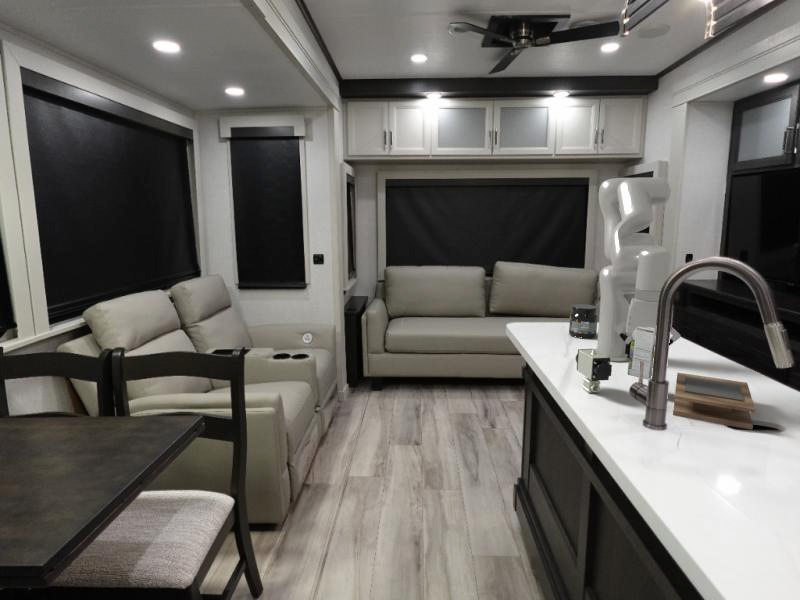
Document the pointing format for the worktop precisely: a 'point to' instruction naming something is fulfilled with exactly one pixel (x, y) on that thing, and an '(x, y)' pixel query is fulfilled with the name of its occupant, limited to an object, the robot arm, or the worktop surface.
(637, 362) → the syrup box
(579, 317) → the supplement container
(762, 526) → the worktop surface
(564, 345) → the worktop surface
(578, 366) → the pneumatic valve
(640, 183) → the robot arm
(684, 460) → the worktop surface
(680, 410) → the walnut stand
